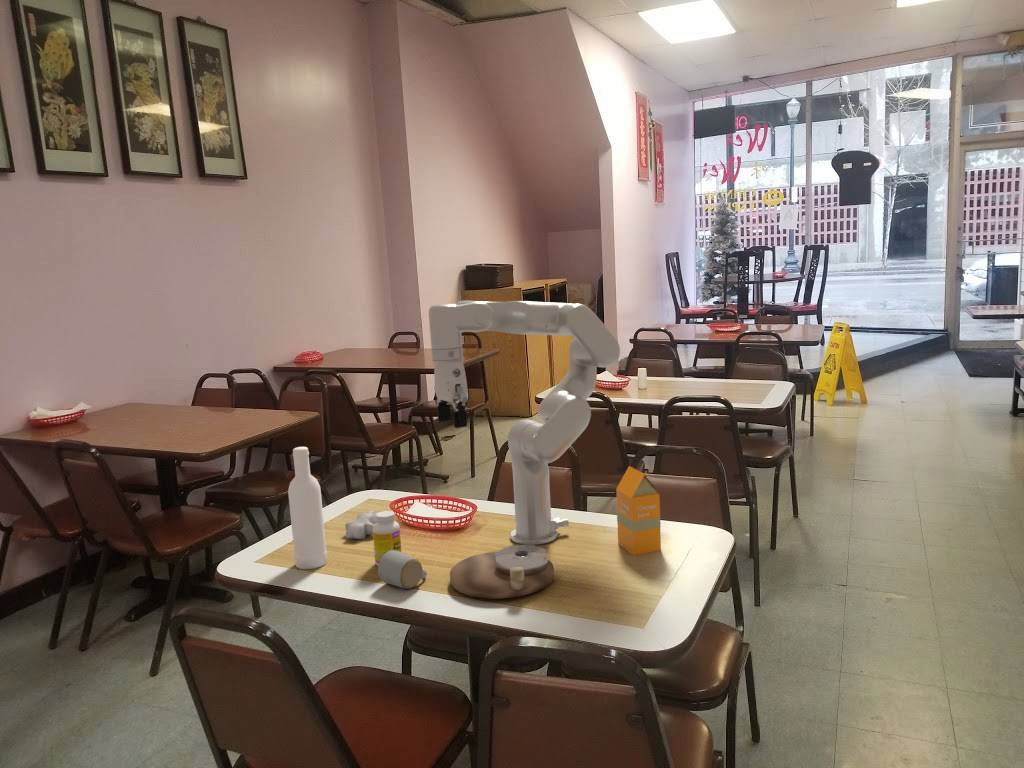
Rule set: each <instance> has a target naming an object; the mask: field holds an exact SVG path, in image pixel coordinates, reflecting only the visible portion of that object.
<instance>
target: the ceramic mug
mask: <svg viewBox="0 0 1024 768" xmlns="http://www.w3.org/2000/svg"><path fill="white" fill-rule="evenodd" d="M401 552H402V551H401ZM401 552H399V551H396V550H391V551H388V552H387V553H385V554H384V555H383V557H382V558H381V560H380V562H379V566H377V567H378V568H377V574H378V578H379V579H380V580H381V581H382V582H383V583H385V584H389V585H392V586H395V587H398V588H399V589H400V588H401V589H405V590H409V589H413V588H414V587H416V586H417V585H418V584H419V582H420V581H421V579H426V578H427V575H428V572H427V570H424V569H423V565H422V563H421V562H420V561H419V560H418V559H417V558H415V557H413V556H411V555H408V554H405V553H403V552H402V553H401Z"/></svg>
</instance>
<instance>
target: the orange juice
mask: <svg viewBox="0 0 1024 768" xmlns="http://www.w3.org/2000/svg"><path fill="white" fill-rule="evenodd" d="M615 491H616V521H617V544H618V545H619V546H621V547H622V548H624V549H625V550H626V551H627V552H629V553H630V554H632V555H633V556H635V555H641V554H647V553H652V552H658V551H661V550H662V549H661V548H662V547H661V546H662V541H661V526H662V525H661V503H660V502H661V501H660V500H661V499H660V497H661V496H660V493H659V492H658V490H657V489H656V488H655V486H654V485H653V483H652V482H651V481H650V479H649V478H648V477H647V475H646V474H645V473H644V472H641V471H640V470H638V469H636V468H634V467H632V466H630V465H629V466H628V467H627V469H626V470H625V473H624V474H623V476H622V478H621V479H620V481H619V482H618V485H617V487H616V488H615Z"/></svg>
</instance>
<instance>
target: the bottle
mask: <svg viewBox="0 0 1024 768" xmlns="http://www.w3.org/2000/svg"><path fill="white" fill-rule="evenodd" d="M309 455H310V452H309V447H307V446H297V447H295V448H293V449H292V458H293V465H294V466H293V467H294V474H295V475H294V477H293V478H292V479H291V481H290V482H289V486H288V489H287V490H288V491H287V492H288V504H289V515H290V523H291V532H292V533H291V534H292V542H293V543H292V544H293V552H294V554H293V557H294V562H295V563H294V564H295V565H294V566H295V567H296V568H297V569H300V570H314V569H318V568H320V567H323V566H324V565H326V564H327V562H328V551H327V550H328V549H327V544H326V534H325V524H324V523H325V522H324V521H325V520H324V513H323V512H324V511H323V502H322V492H321V491H322V490H321V485H320V483H319V481H318V479H317V478H316V477H314V476H313V475H312V474H311V469H310V468H311V465H310V457H309Z"/></svg>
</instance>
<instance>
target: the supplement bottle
mask: <svg viewBox="0 0 1024 768" xmlns="http://www.w3.org/2000/svg"><path fill="white" fill-rule="evenodd" d="M375 514H376V521H377V523H376V524H375V525H374V526H373V534H372V537H373V550H374V561H375V562H374V563H375V565H376V566H377V567H378V566H379V562H380V560H381V558H382V557H383V555H384V554H385V553H387V552H388V551H391V550H396V551H399V552H401V553H403V552H402V539H401V528H400V527H401V526H400V524H399V523H398V522H397V521H396V520H395V518H396V516H395V515H396V513H395V512H394V511H392V510H385V511H379V512H376V513H375Z"/></svg>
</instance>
